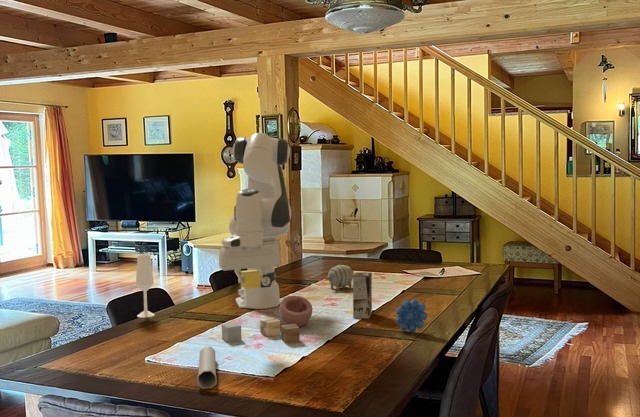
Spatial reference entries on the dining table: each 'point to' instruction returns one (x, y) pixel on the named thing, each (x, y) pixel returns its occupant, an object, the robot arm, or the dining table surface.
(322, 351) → the dining table surface
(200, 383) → the tube
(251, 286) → the mustard cube
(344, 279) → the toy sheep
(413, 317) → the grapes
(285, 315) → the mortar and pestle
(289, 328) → the walnut cube
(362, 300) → the coffee box
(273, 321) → the beech cube
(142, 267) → the champagne flute
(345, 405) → the dining table surface
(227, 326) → the grey cube
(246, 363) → the dining table surface
